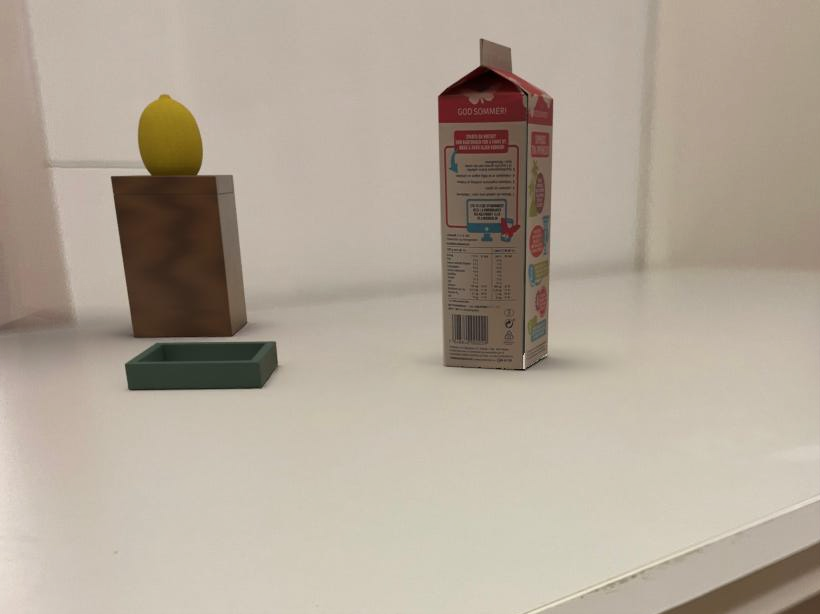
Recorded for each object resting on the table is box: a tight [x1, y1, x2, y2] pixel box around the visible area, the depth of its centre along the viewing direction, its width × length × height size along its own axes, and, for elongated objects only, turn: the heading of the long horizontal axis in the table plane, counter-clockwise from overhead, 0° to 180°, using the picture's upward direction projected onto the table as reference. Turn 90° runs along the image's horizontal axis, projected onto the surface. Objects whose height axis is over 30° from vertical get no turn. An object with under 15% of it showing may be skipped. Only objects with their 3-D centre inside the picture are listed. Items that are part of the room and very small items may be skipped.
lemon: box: [137, 93, 204, 176], centre depth 90 cm, size 6×6×8 cm
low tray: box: [124, 340, 279, 390], centre depth 75 cm, size 9×9×2 cm
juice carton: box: [437, 37, 554, 370], centre depth 76 cm, size 7×7×22 cm
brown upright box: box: [110, 174, 248, 338], centre depth 94 cm, size 9×9×14 cm
